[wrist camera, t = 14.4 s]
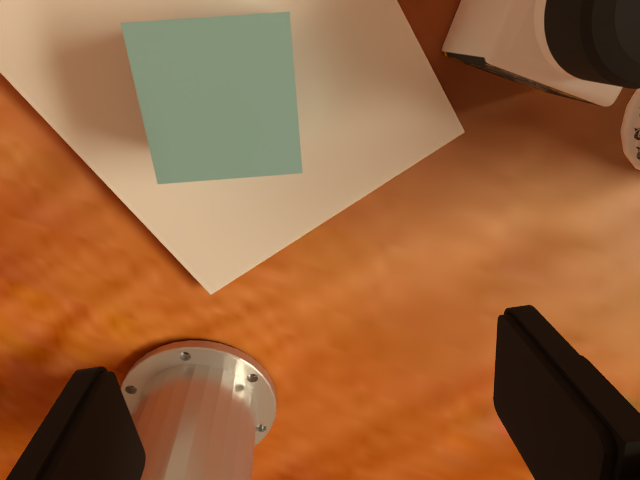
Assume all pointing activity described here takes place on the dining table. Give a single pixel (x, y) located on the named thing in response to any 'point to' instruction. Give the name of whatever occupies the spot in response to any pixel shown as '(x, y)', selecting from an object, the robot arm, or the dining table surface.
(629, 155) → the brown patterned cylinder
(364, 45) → the post block
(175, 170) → the sage green cube
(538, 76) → the medicine bottle
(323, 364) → the dining table surface
